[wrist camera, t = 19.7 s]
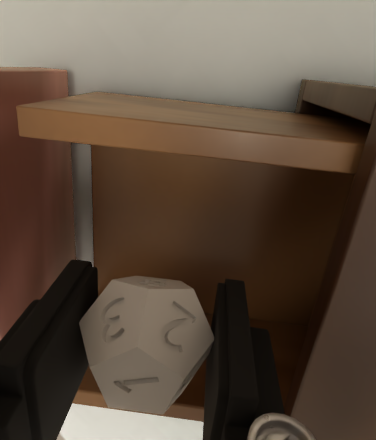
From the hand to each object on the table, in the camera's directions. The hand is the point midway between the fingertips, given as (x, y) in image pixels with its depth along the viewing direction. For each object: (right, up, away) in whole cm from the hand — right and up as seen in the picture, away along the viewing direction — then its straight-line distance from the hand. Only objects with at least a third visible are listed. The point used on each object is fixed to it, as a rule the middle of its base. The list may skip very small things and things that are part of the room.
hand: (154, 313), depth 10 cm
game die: (0, 0, +1) cm, 1 cm away
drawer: (-2, +3, +7) cm, 8 cm away
